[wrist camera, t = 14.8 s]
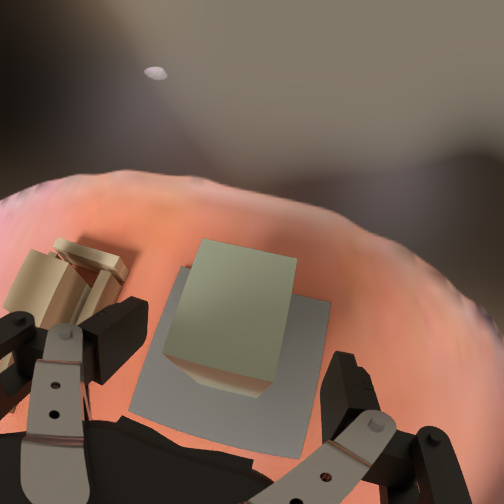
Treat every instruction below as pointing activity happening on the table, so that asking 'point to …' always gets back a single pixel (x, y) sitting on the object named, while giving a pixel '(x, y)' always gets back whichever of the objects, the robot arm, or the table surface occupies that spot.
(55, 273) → the upper offcut
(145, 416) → the grey mat
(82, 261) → the birch rack
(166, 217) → the table surface
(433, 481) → the robot arm
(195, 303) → the pale green rectangular block
